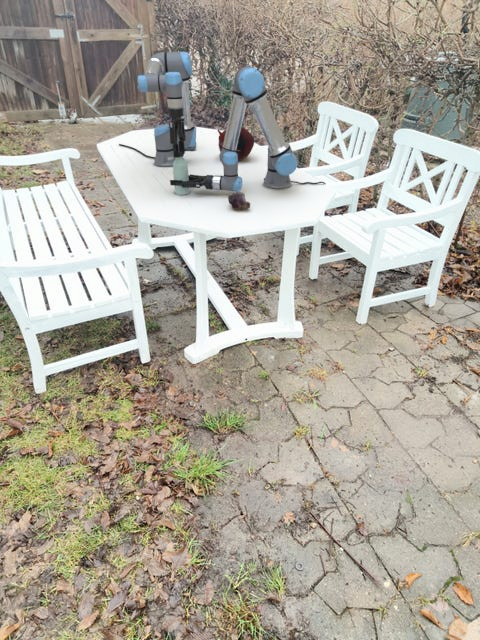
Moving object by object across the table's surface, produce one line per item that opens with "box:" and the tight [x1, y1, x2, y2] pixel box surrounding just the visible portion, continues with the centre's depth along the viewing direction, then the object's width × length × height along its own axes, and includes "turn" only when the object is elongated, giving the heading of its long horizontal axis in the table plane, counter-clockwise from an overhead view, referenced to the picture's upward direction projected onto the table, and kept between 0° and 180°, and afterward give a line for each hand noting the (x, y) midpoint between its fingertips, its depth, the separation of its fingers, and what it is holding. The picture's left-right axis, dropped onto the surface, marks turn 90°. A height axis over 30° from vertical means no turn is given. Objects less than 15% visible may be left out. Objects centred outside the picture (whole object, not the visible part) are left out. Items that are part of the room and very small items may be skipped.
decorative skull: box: [217, 126, 255, 162], centre depth 297 cm, size 21×24×25 cm
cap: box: [179, 151, 185, 158], centre depth 236 cm, size 4×4×2 cm
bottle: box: [172, 156, 191, 196], centre depth 241 cm, size 8×8×21 cm
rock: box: [227, 191, 251, 211], centre depth 224 cm, size 12×9×10 cm
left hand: (179, 155), depth 236 cm, fingers open, 6 cm apart
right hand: (173, 180), depth 244 cm, fingers closed on bottle, 8 cm apart
